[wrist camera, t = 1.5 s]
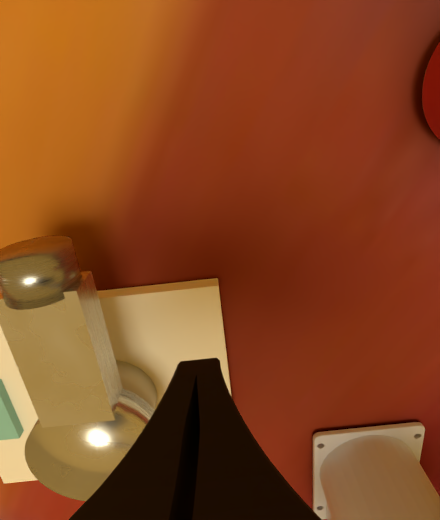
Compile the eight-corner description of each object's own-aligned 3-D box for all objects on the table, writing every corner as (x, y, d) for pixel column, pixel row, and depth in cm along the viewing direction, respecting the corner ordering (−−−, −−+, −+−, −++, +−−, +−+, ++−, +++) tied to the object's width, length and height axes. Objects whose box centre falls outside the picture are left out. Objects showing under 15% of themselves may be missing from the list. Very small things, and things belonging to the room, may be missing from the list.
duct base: (237, 447, 26) (241, 491, 23) (11, 470, 26) (-15, 517, 23) (217, 277, 21) (219, 306, 18) (-68, 308, 21) (-115, 342, 18)
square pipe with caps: (171, 455, 22) (165, 508, 19) (63, 466, 22) (41, 520, 19) (120, 228, 16) (101, 253, 13) (-26, 244, 16) (-77, 273, 13)
